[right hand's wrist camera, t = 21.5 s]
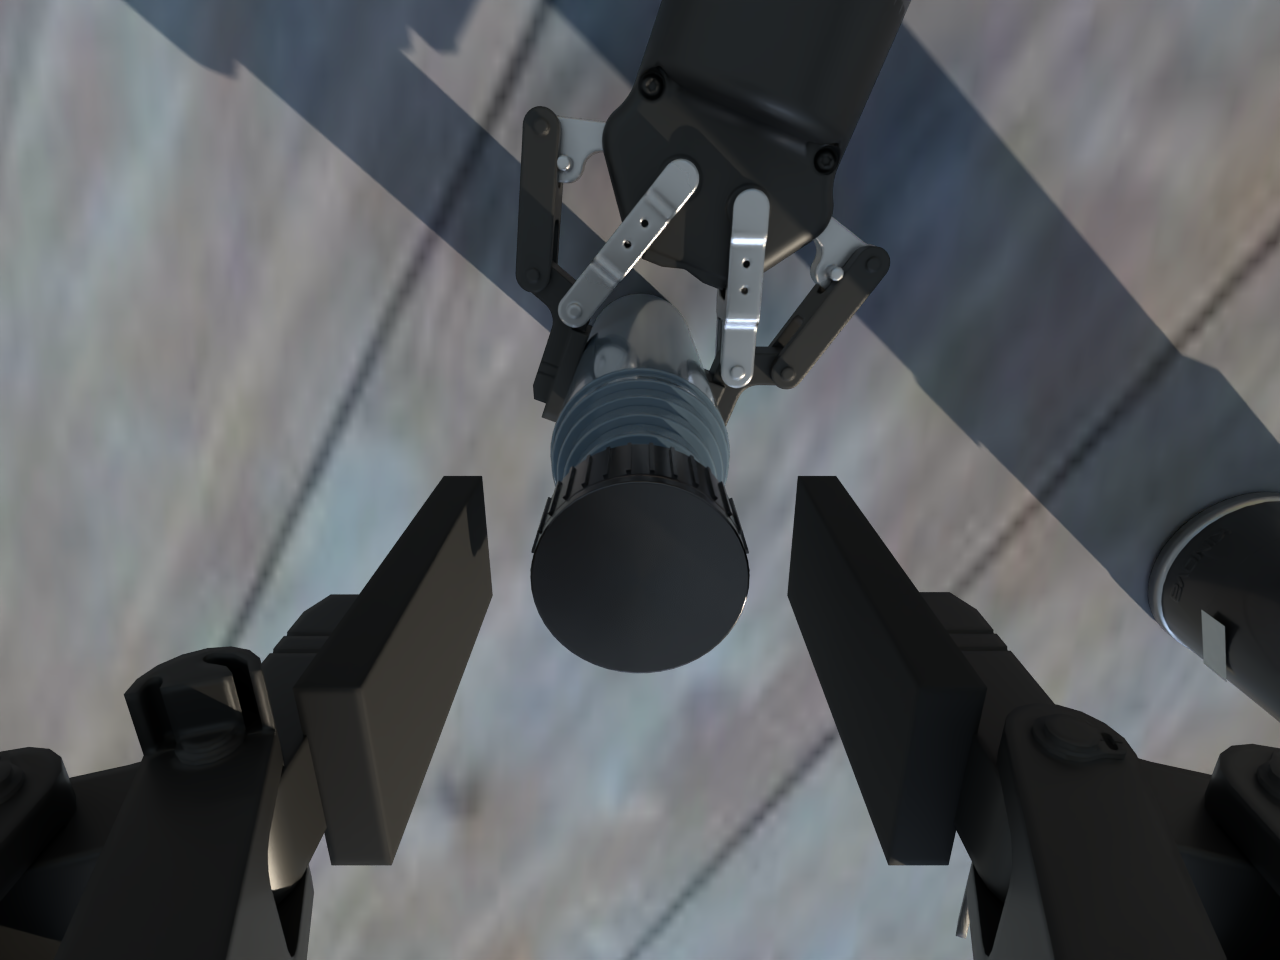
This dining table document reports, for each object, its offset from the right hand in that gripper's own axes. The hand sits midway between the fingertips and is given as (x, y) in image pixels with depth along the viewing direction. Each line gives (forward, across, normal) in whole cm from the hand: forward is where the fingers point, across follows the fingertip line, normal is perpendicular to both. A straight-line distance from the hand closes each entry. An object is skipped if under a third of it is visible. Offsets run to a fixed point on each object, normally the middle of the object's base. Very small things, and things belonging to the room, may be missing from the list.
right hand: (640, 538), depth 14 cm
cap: (-1, 0, 0) cm, 1 cm away
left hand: (+14, -1, -2) cm, 14 cm away
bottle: (+21, 0, 0) cm, 21 cm away
